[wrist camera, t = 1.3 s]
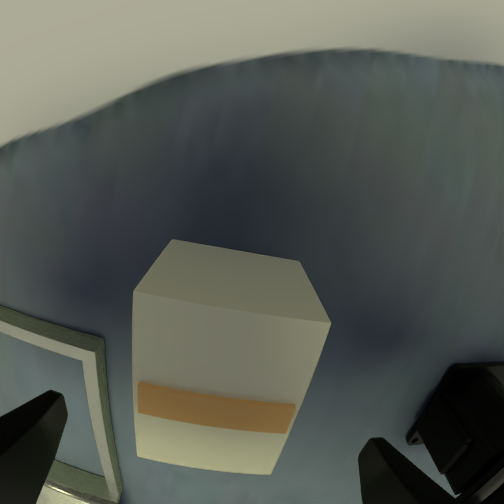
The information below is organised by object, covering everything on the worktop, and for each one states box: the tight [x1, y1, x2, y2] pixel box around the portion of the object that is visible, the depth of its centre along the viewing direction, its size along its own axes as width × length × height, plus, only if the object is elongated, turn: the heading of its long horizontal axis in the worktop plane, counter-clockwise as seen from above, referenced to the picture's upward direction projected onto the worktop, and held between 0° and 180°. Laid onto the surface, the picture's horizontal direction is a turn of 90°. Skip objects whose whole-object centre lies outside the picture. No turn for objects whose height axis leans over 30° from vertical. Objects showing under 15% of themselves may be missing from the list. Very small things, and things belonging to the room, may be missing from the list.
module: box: [132, 239, 331, 475], centre depth 11 cm, size 5×7×5 cm
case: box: [0, 306, 123, 504], centre depth 12 cm, size 11×27×9 cm, turn 169°
